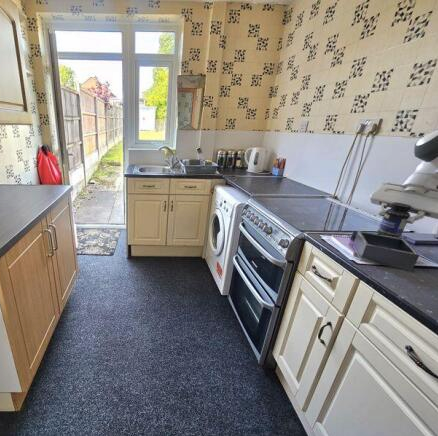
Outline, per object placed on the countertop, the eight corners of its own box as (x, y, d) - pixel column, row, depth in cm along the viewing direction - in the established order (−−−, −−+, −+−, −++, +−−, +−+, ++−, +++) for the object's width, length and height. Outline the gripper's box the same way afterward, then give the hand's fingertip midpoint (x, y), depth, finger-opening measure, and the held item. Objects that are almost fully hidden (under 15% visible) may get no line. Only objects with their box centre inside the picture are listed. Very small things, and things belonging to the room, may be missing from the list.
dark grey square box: (396, 255, 93) (404, 239, 90) (410, 273, 82) (419, 255, 79) (352, 246, 99) (358, 231, 96) (359, 262, 88) (366, 244, 85)
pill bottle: (372, 231, 89) (384, 202, 85) (385, 229, 90) (397, 201, 86) (392, 238, 83) (405, 207, 79) (405, 237, 85) (419, 206, 81)
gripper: (381, 176, 92) (358, 204, 91) (464, 189, 74) (436, 224, 74) (383, 187, 95) (361, 214, 95) (462, 202, 78) (436, 235, 78)
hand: (394, 218), depth 84 cm, fingers closed on pill bottle, 6 cm apart
